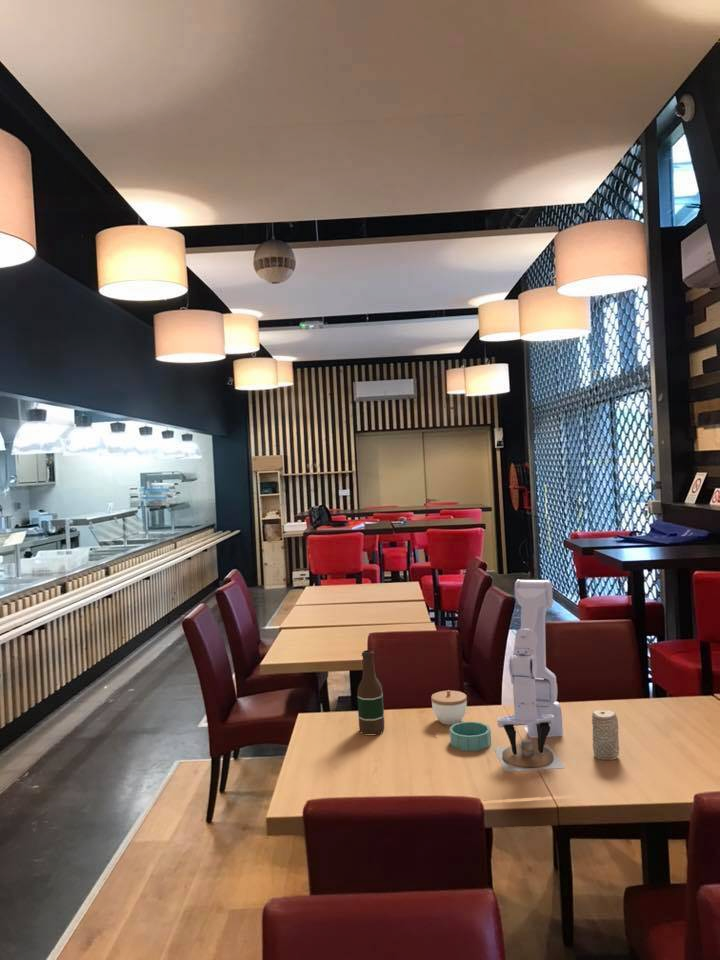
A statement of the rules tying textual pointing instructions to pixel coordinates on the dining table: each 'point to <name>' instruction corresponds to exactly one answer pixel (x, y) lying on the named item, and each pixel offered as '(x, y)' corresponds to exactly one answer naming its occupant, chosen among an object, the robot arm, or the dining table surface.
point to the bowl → (470, 736)
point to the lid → (528, 755)
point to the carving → (605, 734)
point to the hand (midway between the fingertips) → (527, 752)
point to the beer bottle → (370, 698)
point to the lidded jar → (449, 706)
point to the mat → (509, 768)
